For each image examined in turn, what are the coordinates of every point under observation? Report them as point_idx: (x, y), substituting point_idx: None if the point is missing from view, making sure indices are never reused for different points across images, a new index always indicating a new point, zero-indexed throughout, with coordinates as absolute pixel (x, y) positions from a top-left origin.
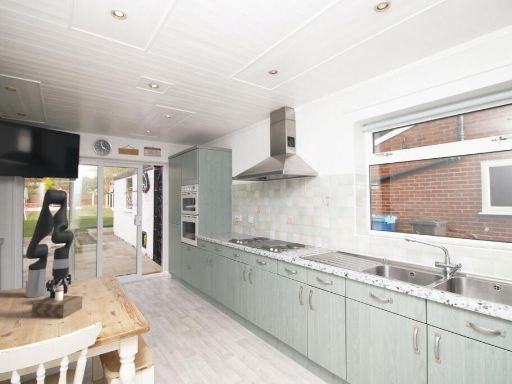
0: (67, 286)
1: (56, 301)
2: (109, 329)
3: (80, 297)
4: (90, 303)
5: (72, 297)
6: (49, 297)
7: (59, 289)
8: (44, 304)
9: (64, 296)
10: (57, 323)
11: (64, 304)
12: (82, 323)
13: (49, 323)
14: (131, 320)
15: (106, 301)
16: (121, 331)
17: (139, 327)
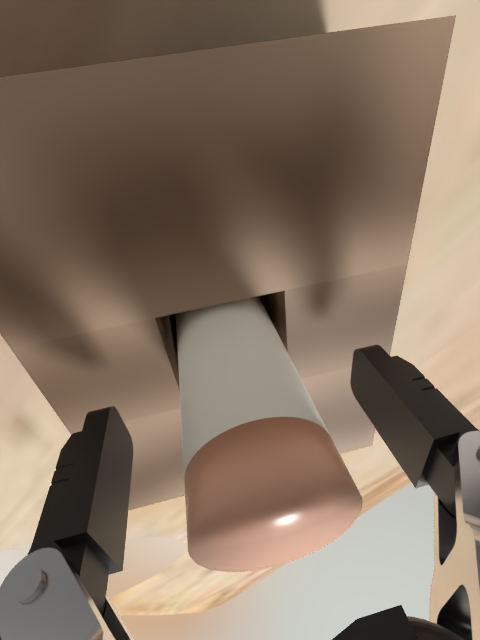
0: (439, 494)
1: (164, 394)
2: (143, 589)
3: (344, 451)
4: (429, 330)
5: (332, 408)
6: (280, 112)
7: (223, 560)
8: (19, 346)
9: (359, 308)
10: (61, 446)
11: (136, 505)
12: (136, 516)
13: (26, 414)
14: (237, 576)
15: (460, 382)
16: (149, 608)
17: (197, 610)
